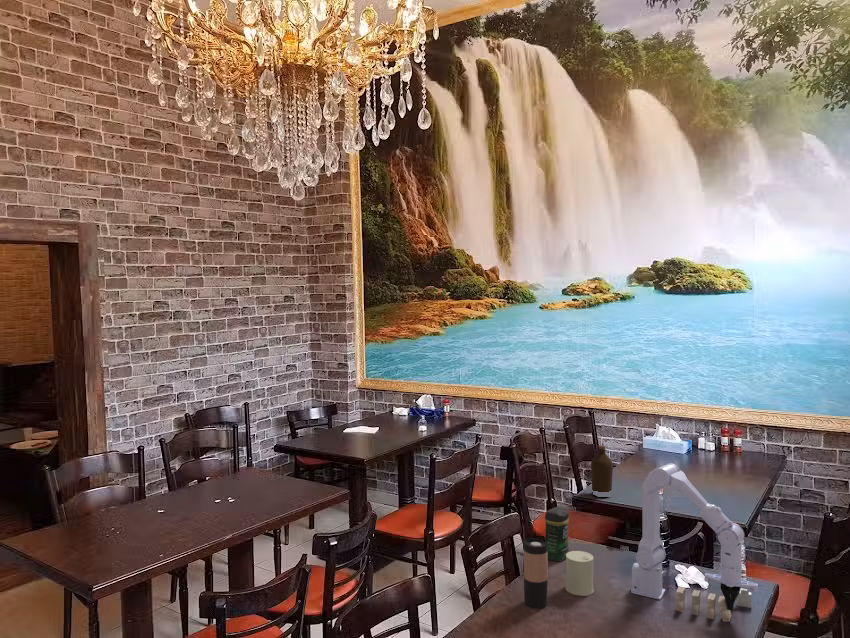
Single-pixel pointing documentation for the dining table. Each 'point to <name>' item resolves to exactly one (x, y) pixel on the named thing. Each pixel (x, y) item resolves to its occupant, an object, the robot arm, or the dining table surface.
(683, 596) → the domino
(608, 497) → the dining table surface
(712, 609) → the domino
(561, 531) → the coffee jar
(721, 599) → the domino
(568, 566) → the can
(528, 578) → the travel mug
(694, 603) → the domino
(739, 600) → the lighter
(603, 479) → the olive oil
